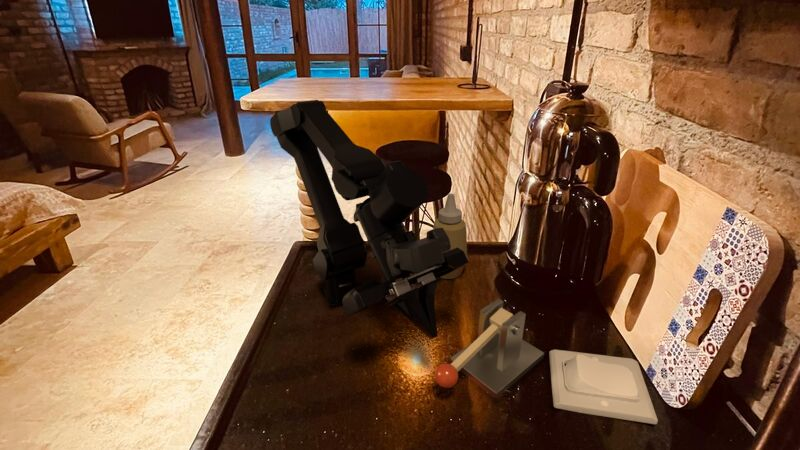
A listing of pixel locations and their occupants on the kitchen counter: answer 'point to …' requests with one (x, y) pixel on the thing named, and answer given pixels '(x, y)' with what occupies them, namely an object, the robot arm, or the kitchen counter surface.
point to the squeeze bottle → (452, 230)
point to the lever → (470, 351)
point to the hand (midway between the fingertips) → (433, 337)
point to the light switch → (600, 386)
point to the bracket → (500, 354)
